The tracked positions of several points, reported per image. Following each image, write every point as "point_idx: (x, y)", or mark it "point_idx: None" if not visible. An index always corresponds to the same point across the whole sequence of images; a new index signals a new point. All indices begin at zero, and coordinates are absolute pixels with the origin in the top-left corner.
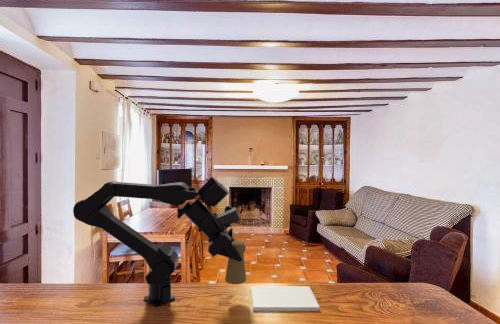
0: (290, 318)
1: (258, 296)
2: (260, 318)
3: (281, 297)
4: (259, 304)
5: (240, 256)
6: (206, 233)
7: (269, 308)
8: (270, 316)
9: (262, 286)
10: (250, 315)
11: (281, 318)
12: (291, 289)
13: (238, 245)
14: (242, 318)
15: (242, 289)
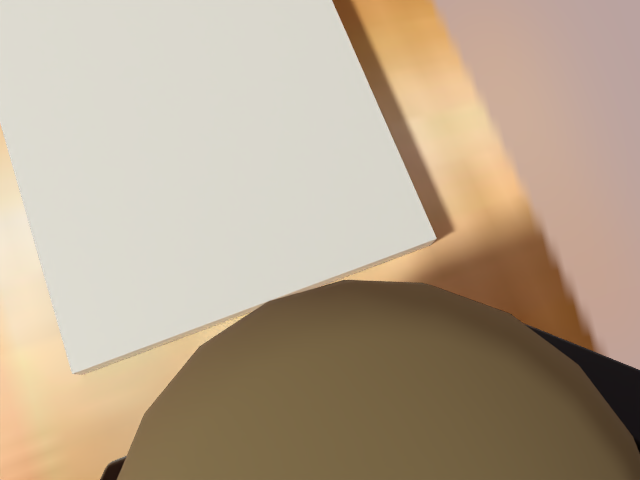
0: (422, 4)
1: (252, 251)
2: (501, 171)
3: (207, 83)
4: (378, 206)
5: (550, 334)
6: None
7: (388, 133)
8: (450, 118)
9: (48, 273)
10: (494, 243)
11: (444, 52)
12: (40, 39)
13: (594, 421)
14: (554, 282)
15: (103, 451)
